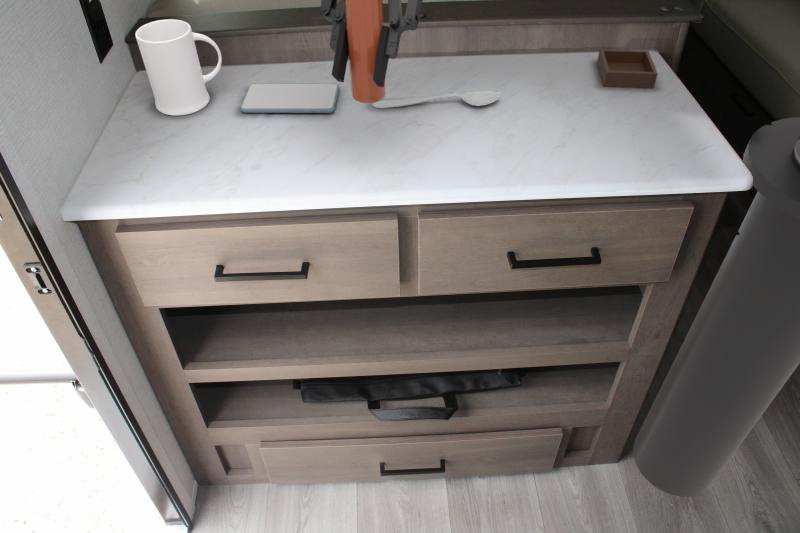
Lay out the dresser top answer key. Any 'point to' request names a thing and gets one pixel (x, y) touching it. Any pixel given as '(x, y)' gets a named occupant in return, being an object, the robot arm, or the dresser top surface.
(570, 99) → the dresser top surface
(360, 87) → the orange hollow tube
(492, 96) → the spoon
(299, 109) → the smartphone
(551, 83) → the dresser top surface
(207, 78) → the mug
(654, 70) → the tray
